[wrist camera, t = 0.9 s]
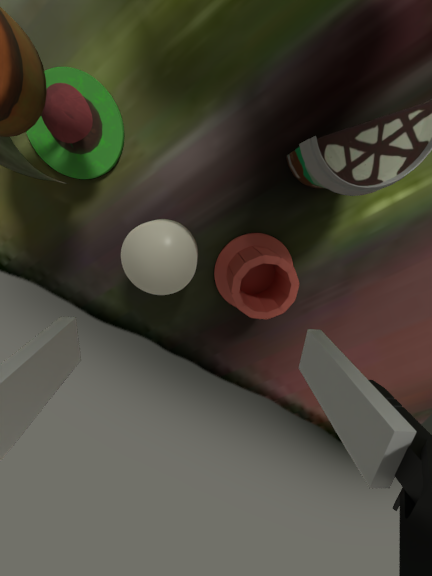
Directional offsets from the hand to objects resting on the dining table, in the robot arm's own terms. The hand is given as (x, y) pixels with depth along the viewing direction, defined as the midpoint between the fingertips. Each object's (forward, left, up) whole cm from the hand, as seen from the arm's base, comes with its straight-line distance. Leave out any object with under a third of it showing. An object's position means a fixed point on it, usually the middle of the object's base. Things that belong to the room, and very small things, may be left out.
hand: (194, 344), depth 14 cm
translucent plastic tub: (-14, -16, -20) cm, 30 cm away
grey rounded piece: (-2, -4, -20) cm, 21 cm away
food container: (-13, +15, -20) cm, 29 cm away
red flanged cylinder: (+1, +8, -20) cm, 22 cm away
